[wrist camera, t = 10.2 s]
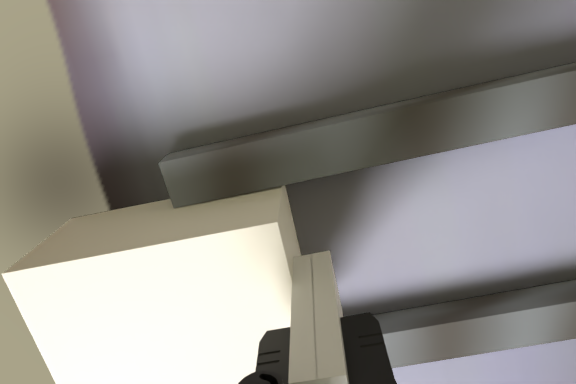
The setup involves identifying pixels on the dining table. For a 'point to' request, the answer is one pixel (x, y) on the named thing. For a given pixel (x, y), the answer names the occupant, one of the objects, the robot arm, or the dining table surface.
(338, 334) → the robot arm
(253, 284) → the cream block
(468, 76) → the dining table surface
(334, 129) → the twin grey rails
